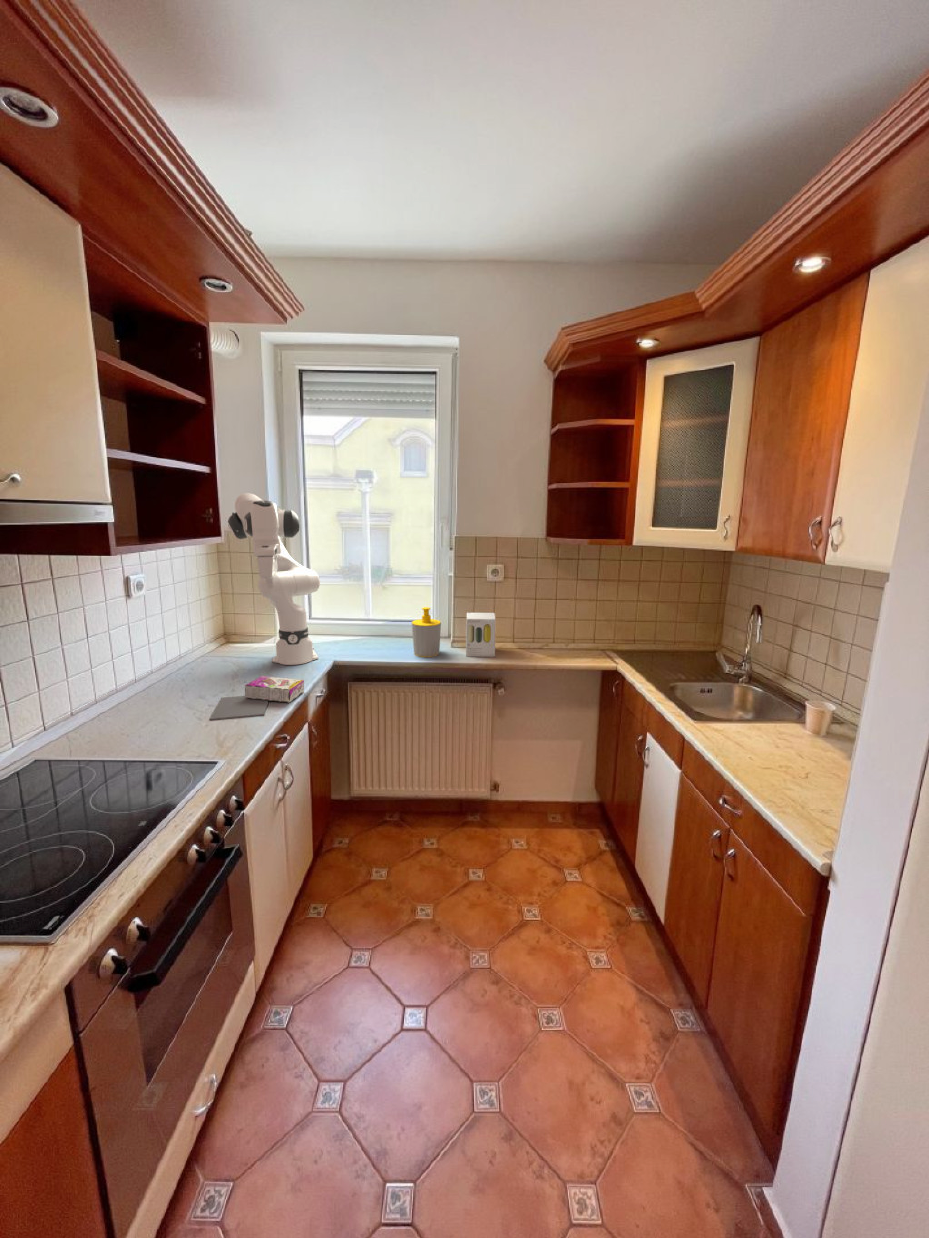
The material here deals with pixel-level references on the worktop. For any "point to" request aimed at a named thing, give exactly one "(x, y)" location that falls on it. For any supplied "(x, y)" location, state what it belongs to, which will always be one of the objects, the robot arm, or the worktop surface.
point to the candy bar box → (274, 689)
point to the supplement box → (480, 634)
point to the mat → (239, 708)
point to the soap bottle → (426, 635)
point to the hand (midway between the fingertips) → (270, 587)
